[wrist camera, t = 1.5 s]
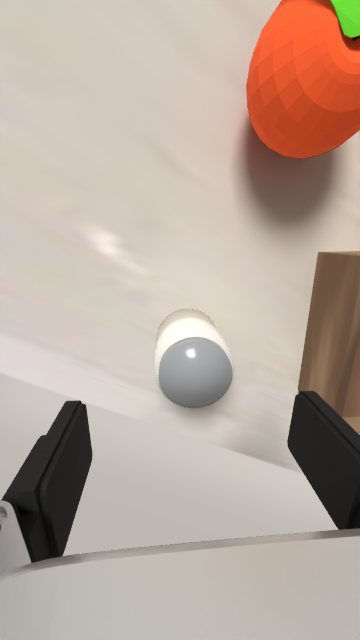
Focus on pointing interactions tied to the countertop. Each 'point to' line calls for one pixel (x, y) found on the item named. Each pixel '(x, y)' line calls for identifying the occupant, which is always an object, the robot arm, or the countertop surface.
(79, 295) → the countertop surface
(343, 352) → the tray
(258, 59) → the clementine
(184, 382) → the white rounded cylinder
